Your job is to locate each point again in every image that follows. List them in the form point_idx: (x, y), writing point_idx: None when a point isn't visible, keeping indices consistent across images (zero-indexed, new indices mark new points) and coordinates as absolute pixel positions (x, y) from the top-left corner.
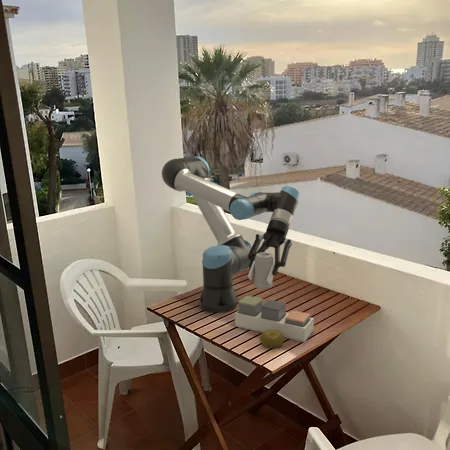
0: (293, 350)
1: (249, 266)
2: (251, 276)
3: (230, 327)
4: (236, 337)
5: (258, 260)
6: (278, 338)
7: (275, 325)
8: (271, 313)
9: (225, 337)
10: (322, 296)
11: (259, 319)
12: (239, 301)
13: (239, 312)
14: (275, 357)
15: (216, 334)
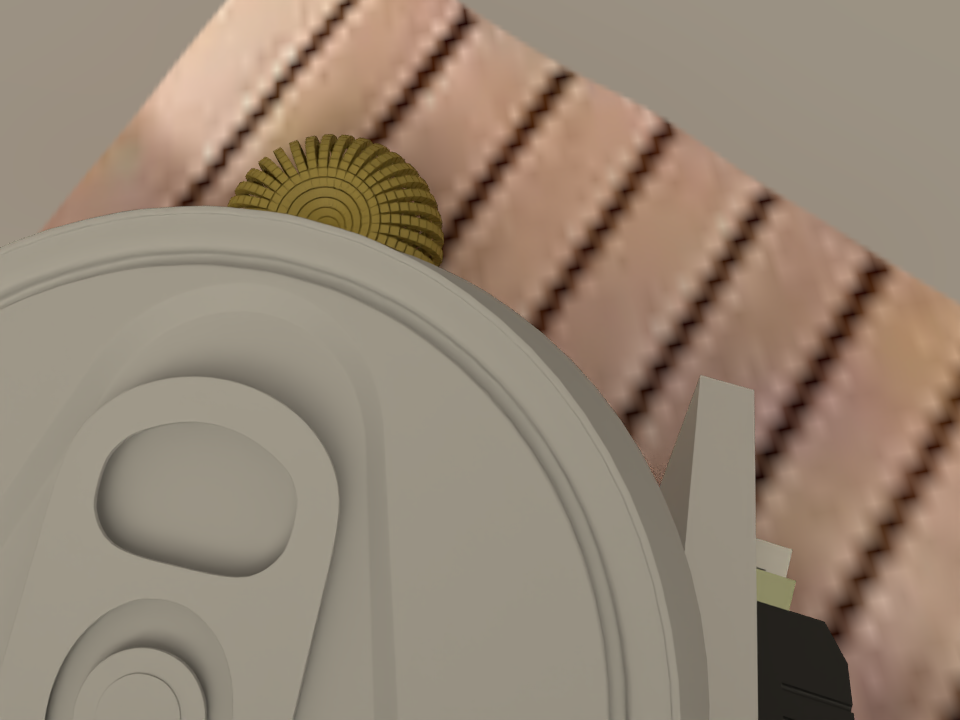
0: (158, 186)
1: (837, 680)
2: (670, 480)
3: (783, 514)
4: (673, 321)
5: (467, 283)
6: (260, 172)
7: None
8: None
9: (773, 304)
10: None
11: None
12: (785, 591)
13: None
14: (298, 61)
15: (873, 345)
